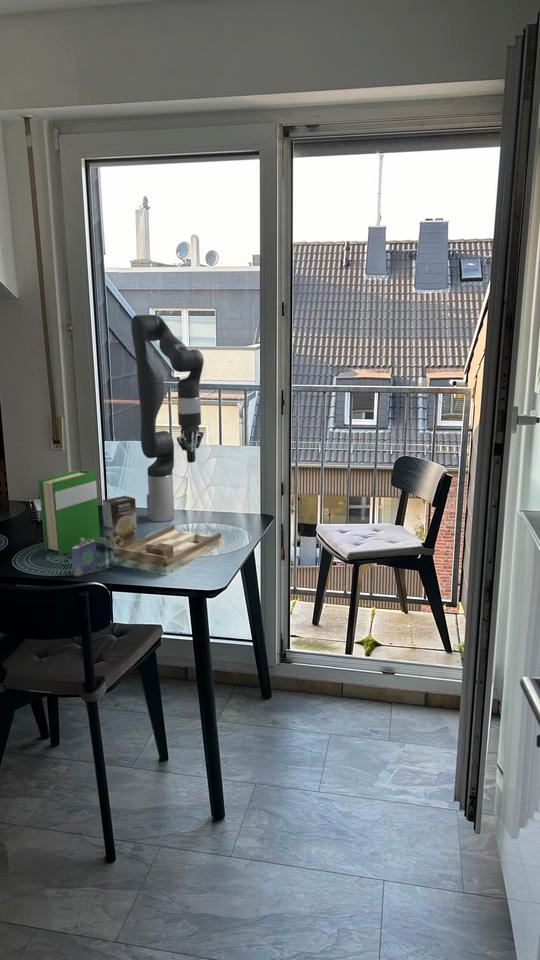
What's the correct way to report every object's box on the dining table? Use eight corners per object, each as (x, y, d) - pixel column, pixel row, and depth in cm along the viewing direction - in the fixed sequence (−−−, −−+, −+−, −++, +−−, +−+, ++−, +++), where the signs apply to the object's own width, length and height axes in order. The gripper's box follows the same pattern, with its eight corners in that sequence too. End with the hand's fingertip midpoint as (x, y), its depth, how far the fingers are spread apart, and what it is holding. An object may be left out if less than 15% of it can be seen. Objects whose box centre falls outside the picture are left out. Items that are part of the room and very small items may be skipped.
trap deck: (114, 564, 214) (113, 547, 213) (172, 536, 241) (172, 521, 240) (166, 575, 205) (165, 557, 204) (221, 544, 232) (220, 528, 231)
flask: (78, 577, 204) (75, 543, 202) (70, 575, 206) (67, 541, 203) (99, 567, 212) (97, 534, 210) (92, 566, 214) (89, 533, 211)
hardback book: (60, 554, 224) (54, 483, 218) (45, 550, 228) (38, 480, 222) (100, 539, 238) (95, 472, 233) (85, 535, 242) (80, 469, 236)
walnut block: (150, 560, 211) (149, 547, 210) (160, 555, 215) (159, 542, 214) (163, 562, 208) (163, 550, 207) (173, 557, 213) (173, 545, 212)
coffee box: (114, 550, 227) (111, 503, 223) (104, 546, 231) (101, 500, 227) (138, 544, 233) (135, 498, 229) (127, 539, 238) (125, 494, 234)
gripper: (191, 407, 235) (193, 457, 240) (168, 413, 224) (170, 464, 228) (209, 409, 232) (211, 459, 236) (187, 414, 221) (189, 467, 225)
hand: (191, 462), depth 232 cm, fingers closed
